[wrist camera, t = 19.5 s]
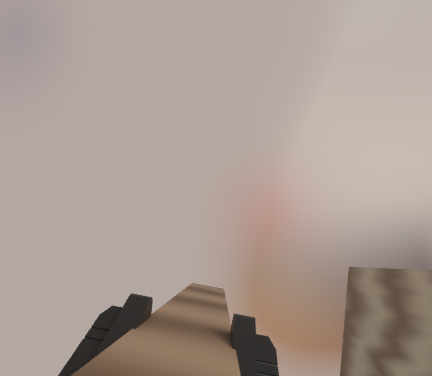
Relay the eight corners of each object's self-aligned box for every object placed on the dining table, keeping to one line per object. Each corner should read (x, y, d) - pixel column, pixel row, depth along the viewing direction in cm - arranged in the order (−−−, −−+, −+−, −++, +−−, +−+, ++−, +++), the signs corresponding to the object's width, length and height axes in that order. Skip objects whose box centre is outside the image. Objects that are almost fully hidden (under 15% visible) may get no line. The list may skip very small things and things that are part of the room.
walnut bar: (214, 777, 3) (255, 453, 4) (-53, 706, 3) (32, 404, 4) (217, 322, 29) (223, 289, 29) (185, 316, 29) (192, 283, 29)
